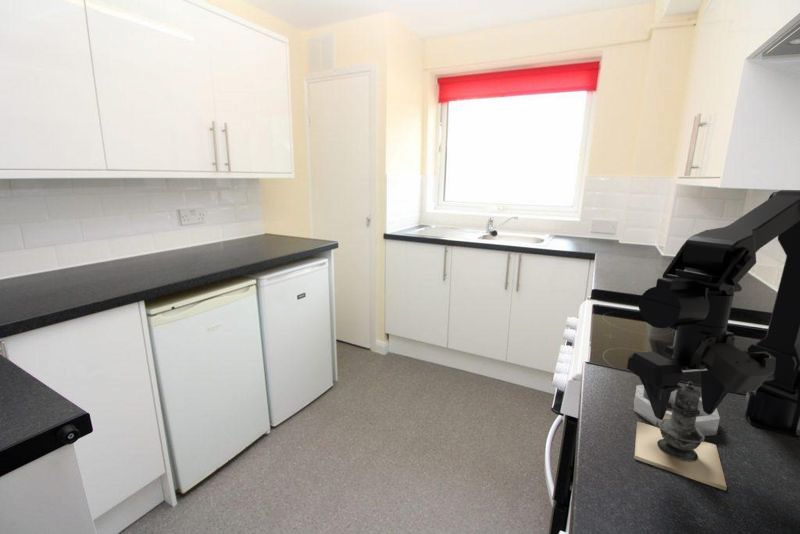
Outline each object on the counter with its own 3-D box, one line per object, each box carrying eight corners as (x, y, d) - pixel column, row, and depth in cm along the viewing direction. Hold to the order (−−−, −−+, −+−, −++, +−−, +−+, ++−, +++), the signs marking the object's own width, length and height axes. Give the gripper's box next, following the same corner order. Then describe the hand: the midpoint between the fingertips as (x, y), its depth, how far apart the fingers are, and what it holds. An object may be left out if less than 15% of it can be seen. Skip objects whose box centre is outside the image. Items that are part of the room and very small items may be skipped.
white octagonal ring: (710, 411, 73) (713, 397, 72) (719, 445, 62) (723, 429, 62) (635, 391, 79) (637, 378, 79) (632, 419, 69) (635, 404, 69)
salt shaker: (655, 433, 64) (666, 368, 62) (698, 447, 61) (712, 379, 59) (654, 452, 59) (667, 382, 57) (702, 468, 56) (717, 395, 54)
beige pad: (715, 448, 62) (715, 445, 62) (726, 490, 53) (726, 487, 53) (636, 424, 68) (637, 421, 68) (634, 458, 59) (634, 455, 58)
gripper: (703, 345, 46) (681, 457, 49) (818, 338, 50) (790, 442, 53) (631, 316, 57) (617, 409, 60) (730, 312, 61) (712, 400, 64)
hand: (683, 415), depth 59 cm, fingers open, 9 cm apart
